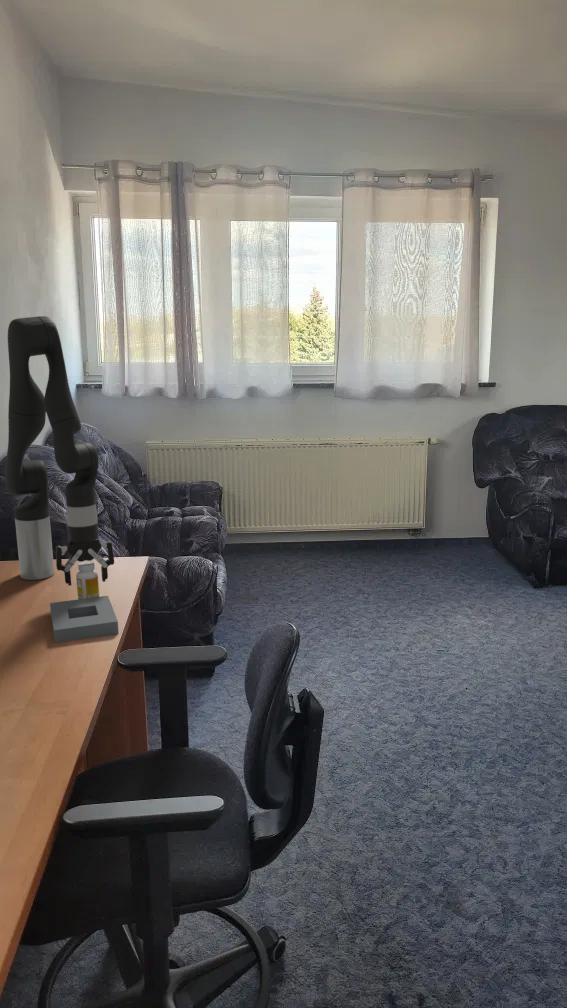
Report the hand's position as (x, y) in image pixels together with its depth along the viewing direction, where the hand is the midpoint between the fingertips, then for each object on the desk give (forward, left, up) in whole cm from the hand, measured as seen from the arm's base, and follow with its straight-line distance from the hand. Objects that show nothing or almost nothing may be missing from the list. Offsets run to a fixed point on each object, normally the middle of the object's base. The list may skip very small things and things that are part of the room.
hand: (87, 582), depth 186 cm
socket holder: (+14, -9, -5) cm, 17 cm away
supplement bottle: (0, 0, -5) cm, 5 cm away
